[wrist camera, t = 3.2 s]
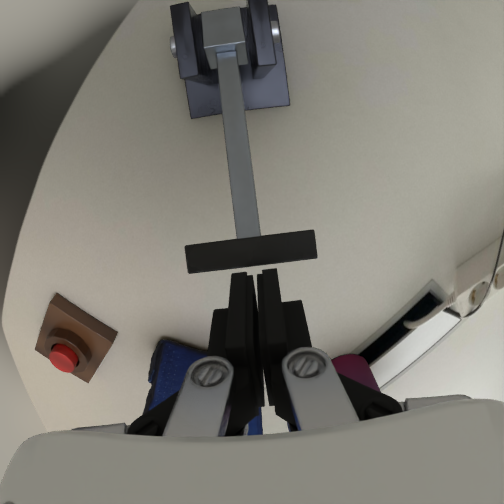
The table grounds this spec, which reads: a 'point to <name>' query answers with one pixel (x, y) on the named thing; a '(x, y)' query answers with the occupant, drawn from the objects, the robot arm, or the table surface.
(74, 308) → the button box
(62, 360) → the button
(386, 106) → the table surface
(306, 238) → the lever
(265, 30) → the bracket
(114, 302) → the table surface
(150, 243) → the table surface
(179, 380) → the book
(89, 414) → the table surface
